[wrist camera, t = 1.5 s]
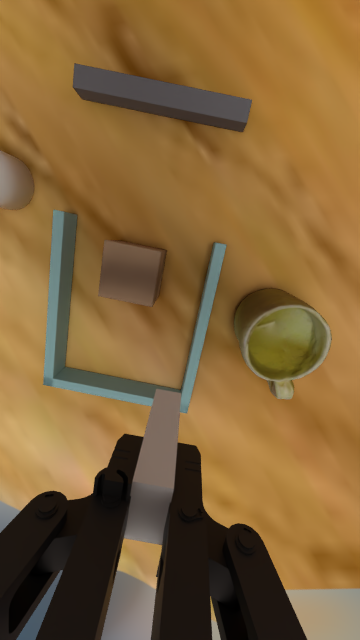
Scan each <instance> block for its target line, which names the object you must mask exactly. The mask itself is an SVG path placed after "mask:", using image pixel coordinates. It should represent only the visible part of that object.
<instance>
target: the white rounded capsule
mask: <svg viewBox="0 0 360 640" xmlns="http://www.w3.org/2000/svg"><path fill="white" fill-rule="evenodd" d="M33 193H34V181H33V177H32V175H31V173H30V171H29V169H28V167H27V166H26V165H25V164H24V163H23V162H22V161H21V160H19V159H18V158H16V157H14V156H11V155H9V154H7V153H5V152H3V151H1V150H0V208H3V209H8V210H18V209H21V208H23V207H25V206H26V205H27V204H28V203H29V202H30V201H31V199H32V196H33Z"/></svg>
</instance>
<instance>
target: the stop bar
mask: <svg viewBox="0 0 360 640" xmlns="http://www.w3.org/2000/svg"><path fill="white" fill-rule="evenodd" d="M73 88H74V89H75V91H76V92H77V93H78V94H79V96H80V97H81V98H82V99H84V100H89V101H93V102H98V103H103V104H108V105H113V106H118V107H123V108H127V109H132V110H137V111H142V112H147V113H152V114H157V115H161V116H166V117H171V118H176V119H181V120H186V121H191V122H196V123H200V124H205V125H210V126H215V127H220V128H225V129H230V130H234V131H239V132H243V131H244V128H245V126H246V124H247V120H248V116H249V111H250V107H251V103H252V100H250V99H245V98H240V97H235V96H230V95H225V94H221V93H216V92H211V91H206V90H201V89H196V88H192V87H187V86H182V85H177V84H172V83H167V82H162V81H158V80H153V79H148V78H143V77H138V76H133V75H128V74H124V73H119V72H114V71H109V70H104V69H99V68H94V67H90V66H85V65H80V64H75V63H74V78H73Z"/></svg>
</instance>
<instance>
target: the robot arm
mask: <svg viewBox="0 0 360 640" xmlns="http://www.w3.org/2000/svg"><path fill="white" fill-rule="evenodd" d="M180 404H181V393H177V392H172V391H166V390H161V389H156V392H155V396H154V400H153V404H152V408H151V411H150V415H149V419H148V423H147V427H146V431H145V435H144V437H140V436H135V435H129V434H124V435H123V436H122V437H121V438H120V439H119V440H118V441H117V444H116V446H115V449H114V451H113V454H112V457H111V459H110V462H109V464H108V467H107V468H104V469H103V470H101V471H100V472H99V473H98V474H97V476H96V477H95V482H94V491H93V494H91V495H89V496H87V497H85V498H81V499H75V500H67V498H66V496H65V495H63V494H62V493H61V492H57V491H48V492H44V493H42V494H39V495H37V496H36V497H35V498H34V499H32V500H31V501H30V502H29V503H28V504H27V505H26V506H25V507H24V509H23V510H22V511H21V512H20V513H19V514H18V515H17V516H16V517H15V518H14V519H13V520H12V521H11V522H10V523H9V524H8V525H7V526H6V528H5V529H4V530H3V531H2V532H1V533H0V640H16V639H17V637H18V636H19V634H20V633H21V631H22V629H23V628H24V626H25V624H26V623H27V622H28V620H29V619H30V617H31V615H32V614H33V612H34V611H35V609H36V608H37V606H38V604H39V603H40V601H41V600H42V598H43V597H44V595H45V594H46V592H47V590H48V589H49V587H50V586H51V584H52V583H53V581H54V580H55V578H56V576H57V575H58V573H59V572H60V570H63V572H62V575H61V577H60V580H59V583H58V585H57V587H56V590H55V592H54V595H53V597H52V600H51V602H50V605H49V607H48V610H47V612H46V615H45V617H44V620H43V622H42V625H41V628H40V630H39V632H38V635H37V637H36V640H101V636H102V632H103V627H104V623H105V619H106V614H107V610H108V605H109V602H110V597H111V593H112V588H113V584H114V580H115V576H116V572H117V567H118V563H119V559H120V554H121V548H122V543H123V538H126V539H132V540H137V541H143V542H148V543H154V544H159V545H162V552H161V556H160V561H159V566H158V570H157V575H156V577H158V579H157V588H156V597H155V606H154V615H153V625H152V635H151V640H212V627H211V605H210V596H211V600H212V604H213V608H214V612H215V617H216V621H217V625H218V629H219V633H220V638H221V640H307V638H306V636H305V634H304V632H303V629H302V627H301V625H300V623H299V620H298V619H297V616H296V614H295V611H294V609H293V607H292V605H291V603H290V601H289V598H288V596H287V594H286V591H285V589H284V587H283V585H282V582H281V580H280V578H279V576H278V573H277V571H276V569H275V567H274V565H273V562H272V560H271V558H270V556H269V553H268V551H267V549H266V547H265V545H264V542H263V540H262V539H261V537H260V536H259V534H258V533H257V532H256V531H255V530H254V529H253V528H251V527H249V526H247V525H245V524H239V523H238V524H234V525H232V526H231V527H230V528H229V529H228V528H226V527H225V526H223V525H221V524H219V523H217V522H216V521H214V520H213V519H212V518H211V517H210V516H209V515H208V514H207V512H206V511H205V509H204V506H203V501H202V478H201V454H200V452H199V450H198V449H197V447H196V446H194V445H189V444H183V443H178V429H179V417H180Z"/></svg>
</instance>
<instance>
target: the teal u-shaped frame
mask: <svg viewBox="0 0 360 640" xmlns="http://www.w3.org/2000/svg"><path fill="white" fill-rule="evenodd" d="M76 226H77V215H76V214H72V213H67V212H63V211H58V210H53V226H52V244H51V261H50V279H49V296H48V313H47V331H46V348H45V366H44V383H43V385H47V386H52V387H57V388H62V389H67V390H72V391H77V392H82V393H87V394H92V395H97V396H102V397H107V398H112V399H117V400H122V401H127V402H132V403H137V404H142V405H147V406H152V404H153V400H154V396H155V392H156V389H161V390H166V391H172V392H177V393H181V404H180V412H182V413H187V411H188V407H189V403H190V398H191V394H192V390H193V386H194V381H195V377H196V373H197V369H198V364H199V360H200V356H201V351H202V347H203V343H204V339H205V334H206V330H207V326H208V322H209V317H210V313H211V309H212V305H213V300H214V296H215V292H216V288H217V283H218V279H219V275H220V271H221V266H222V262H223V258H224V254H225V249H226V245H225V244H220V243H214V244H213V248H212V253H211V257H210V262H209V266H208V271H207V275H206V280H205V284H204V289H203V293H202V298H201V302H200V307H199V311H198V316H197V320H196V325H195V329H194V334H193V338H192V343H191V347H190V352H189V356H188V361H187V365H186V370H185V374H184V379H183V384H182V388H181V390H178V389H173V388H168V387H163V386H158V385H153V384H148V383H143V382H138V381H133V380H128V379H123V378H118V377H113V376H108V375H103V374H98V373H94V372H89V371H84V370H79V369H74V368H69V367H65V361H66V349H67V337H68V324H69V312H70V300H71V288H72V275H73V263H74V251H75V238H76Z"/></svg>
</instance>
